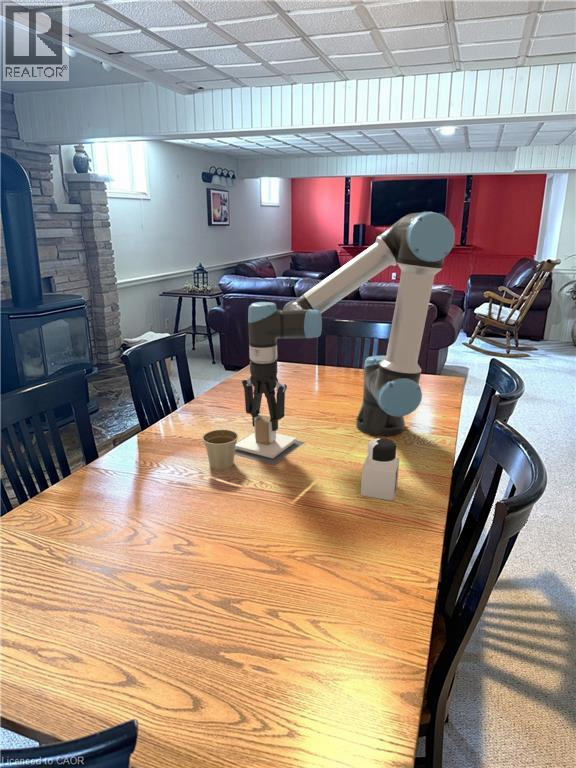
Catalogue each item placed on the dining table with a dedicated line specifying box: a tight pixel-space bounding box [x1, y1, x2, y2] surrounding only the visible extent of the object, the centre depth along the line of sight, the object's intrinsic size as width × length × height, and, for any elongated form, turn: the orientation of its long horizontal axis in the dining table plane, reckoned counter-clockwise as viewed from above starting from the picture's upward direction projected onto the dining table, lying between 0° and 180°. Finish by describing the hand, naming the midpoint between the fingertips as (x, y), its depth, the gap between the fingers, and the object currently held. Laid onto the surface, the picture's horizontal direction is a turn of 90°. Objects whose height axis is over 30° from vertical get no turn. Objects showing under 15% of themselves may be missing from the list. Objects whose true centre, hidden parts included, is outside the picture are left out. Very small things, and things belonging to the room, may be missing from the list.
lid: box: [235, 414, 297, 458], centre depth 142 cm, size 13×13×8 cm
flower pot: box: [201, 428, 239, 471], centre depth 132 cm, size 9×9×9 cm
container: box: [360, 437, 400, 502], centre depth 119 cm, size 8×8×13 cm
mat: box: [234, 432, 305, 466], centre depth 143 cm, size 17×17×1 cm
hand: (265, 438), depth 143 cm, fingers closed on lid, 4 cm apart
